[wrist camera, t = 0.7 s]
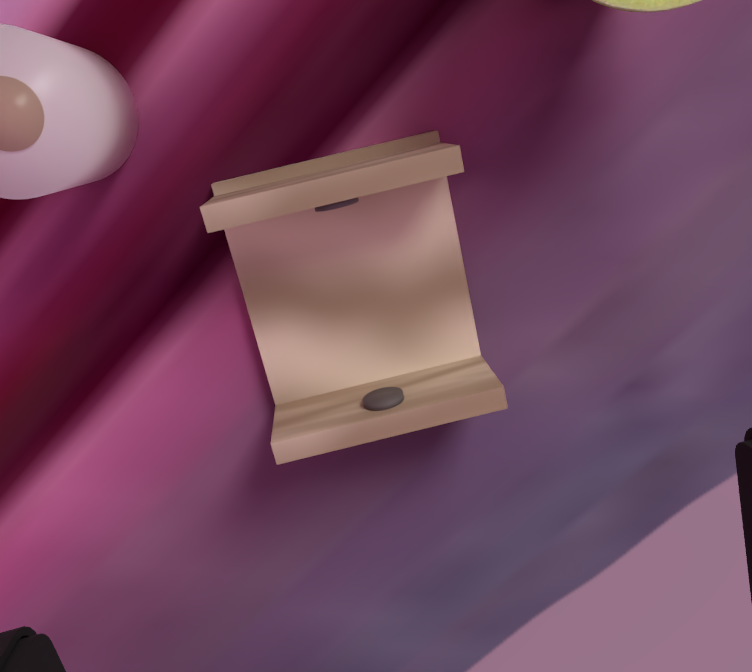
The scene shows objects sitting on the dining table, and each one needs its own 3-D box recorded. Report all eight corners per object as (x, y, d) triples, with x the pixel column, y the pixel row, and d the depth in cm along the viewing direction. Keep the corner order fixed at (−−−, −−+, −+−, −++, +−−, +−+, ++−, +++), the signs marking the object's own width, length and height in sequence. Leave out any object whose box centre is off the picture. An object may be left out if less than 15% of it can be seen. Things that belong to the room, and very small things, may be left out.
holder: (213, 182, 31) (195, 193, 26) (434, 130, 31) (457, 131, 26) (284, 426, 35) (280, 475, 30) (482, 378, 35) (509, 418, 30)
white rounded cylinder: (-21, 61, 29) (-114, 44, 23) (113, 30, 29) (58, 4, 23) (29, 197, 31) (-44, 216, 24) (156, 167, 31) (115, 178, 24)
